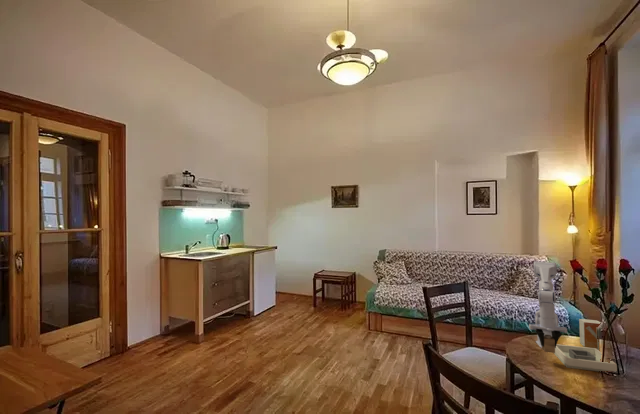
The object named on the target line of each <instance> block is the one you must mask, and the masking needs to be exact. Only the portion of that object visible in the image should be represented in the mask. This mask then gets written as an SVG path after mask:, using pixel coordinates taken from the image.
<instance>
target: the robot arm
mask: <svg viewBox="0 0 640 414" xmlns="http://www.w3.org/2000/svg"><path fill="white" fill-rule="evenodd" d="M557 273H558V270H557V262H555V261H554V262H548V261H547V262H546V261H533V274H534V277H536V278H538V279H539V282H538V292H537V295H538V296H537V297H538V298H537V299H538V300H537V301H538V306H539V309H538V310H536V312H535V316H534V318H535V324H534V323H533V324H531V323H529V324H528V329H529V330H532V331H533V330H534V331H535V332H536V335H537V340H535V343H536V344H537V345H538V346H539V347H540V348H541V349H542V346H543V347H544V336H545V334H547V335H551V337H552V338H553V339H555V348H556V344H558V341H559V339H560V338H561V336H562V333H564V334H568V329H567V327H564V326H560V325H559V319H558V317H559V316H558V314H557V313H556V312H555V310H556V309H555V305H556V292H555V290H554V284H553V282H552V279H556V277H557Z"/></svg>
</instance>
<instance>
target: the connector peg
mask: <svg viewBox="0 0 640 414" xmlns="http://www.w3.org/2000/svg"><path fill="white" fill-rule="evenodd" d="M541 350H543V351H544V352H545V353H553V354H554V353H555V339H553V338H552V337H551V335H547V334H545V336H544V347H543V346H542V348H541Z"/></svg>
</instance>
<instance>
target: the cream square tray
mask: <svg viewBox="0 0 640 414" xmlns="http://www.w3.org/2000/svg"><path fill="white" fill-rule="evenodd" d="M553 354H554V355H555V356H556V357H557V358H558V359H559V361H560V362H561V363H562V364H563V365H564V366H565V367H566V368H567V369H568V368H569V369H576V370H584V371H592V372H599V371H600V372H601V371H617V372H618V365H617V363H616V362H614V361H613V360H612V361H610V363H608V362H600V359H601V355H602V354H601V352H600V351H599V350H598V349H597V348H589V347H584V346H577V345H568V344H559V343H557V344H556V348H555V353H553ZM600 372H599V373H600ZM601 373H602V372H601Z"/></svg>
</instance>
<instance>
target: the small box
mask: <svg viewBox="0 0 640 414" xmlns="http://www.w3.org/2000/svg"><path fill="white" fill-rule="evenodd" d="M578 321H579V323H578V324H579V325H578V326H579V344H581V345H582V347H588V348H596V349H598V345H597V329H596V327H598V326H599V325H600V323H602V322H601V321H599V320H597V319H596V320H595V319H585V318H584V319H583V318H579V319H578Z"/></svg>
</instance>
